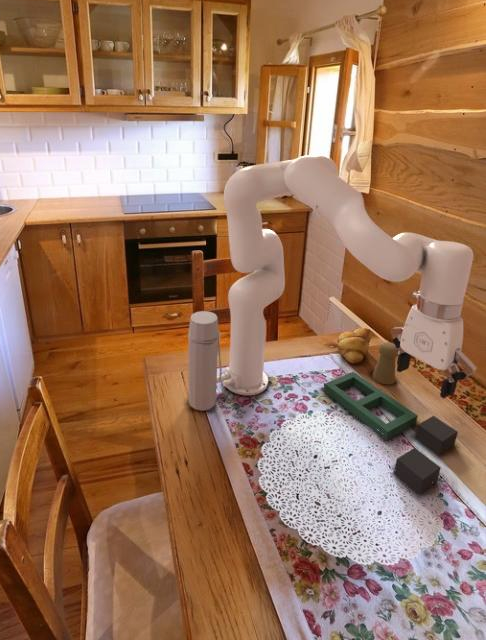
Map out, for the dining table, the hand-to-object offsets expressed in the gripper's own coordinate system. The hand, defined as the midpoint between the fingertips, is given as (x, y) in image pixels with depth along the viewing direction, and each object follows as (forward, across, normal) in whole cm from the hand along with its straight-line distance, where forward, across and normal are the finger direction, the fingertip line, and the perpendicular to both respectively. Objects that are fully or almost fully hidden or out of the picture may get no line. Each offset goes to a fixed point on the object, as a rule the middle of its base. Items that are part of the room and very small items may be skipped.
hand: (423, 382), depth 83 cm
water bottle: (+20, -38, -30) cm, 52 cm away
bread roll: (+20, -35, +21) cm, 46 cm away
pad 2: (+20, +4, -3) cm, 21 cm away
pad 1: (+20, 0, +10) cm, 23 cm away
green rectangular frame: (+20, -16, +6) cm, 27 cm away
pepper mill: (+20, -22, +20) cm, 36 cm away
